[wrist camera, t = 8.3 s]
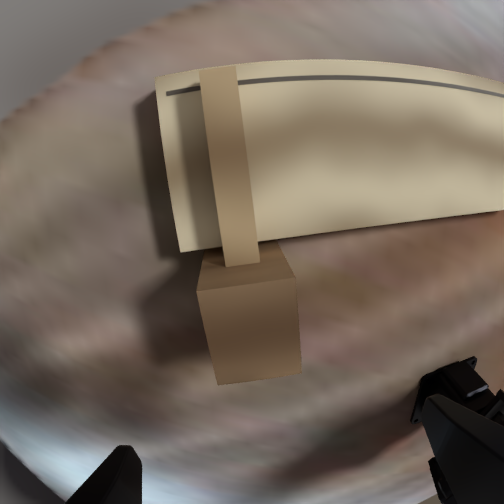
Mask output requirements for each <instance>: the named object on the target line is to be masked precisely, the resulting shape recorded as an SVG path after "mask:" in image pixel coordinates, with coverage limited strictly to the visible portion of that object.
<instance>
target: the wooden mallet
mask: <svg viewBox="0 0 504 504" xmlns="http://www.w3.org/2000/svg"><path fill="white" fill-rule="evenodd" d="M199 79H200V87H201V95H202V103H203V111H204V119H205V127H206V135H207V142H208V150H209V157H210V164H211V171H212V178H213V185H214V192H215V199H216V206H217V213H218V220H219V226H220V233H221V239H222V247H215V248H208V249H205V250H204V255H203V260H202V265H201V270H200V275H199V280H198V285H197V290H196V293H197V297H198V302H199V307H200V312H201V316H202V321H203V325H204V330H205V334H206V338H207V343H208V347H209V351H210V356H211V360H212V364H213V368H214V372H215V376H216V380H217V384H218V385H224V384H233V383H241V382H249V381H256V380H263V379H270V378H276V377H282V376H288V375H294V374H300V373H302V370H301V351H300V333H299V318H298V303H297V289H296V277H295V275H294V273H293V271H292V270H291V268H290V266H289V264H288V262H287V260H286V258H285V256H284V254H283V253H282V251H281V249H280V247H279V245H278V243H277V241H276V239H273V240H265V241H258V240H257V232H256V224H255V215H254V207H253V199H252V191H251V183H250V175H249V167H248V159H247V151H246V143H245V136H244V128H243V120H242V112H241V104H240V97H239V89H238V81H237V74H236V66H228V67H220V68H213V69H206V70H200V71H199Z"/></svg>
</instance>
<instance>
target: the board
mask: <svg viewBox="0 0 504 504" xmlns="http://www.w3.org/2000/svg"><path fill="white" fill-rule="evenodd" d="M228 66H236V74H237V81H238V89H239V97H240V104H241V112H242V120H243V128H244V136H245V143H246V151H247V159H248V167H249V175H250V183H251V191H252V199H253V207H254V215H255V224H256V232H257V240H258V241H265V240H273V239H280V238H287V237H295V236H302V235H310V234H317V233H325V232H332V231H340V230H347V229H355V228H363V227H370V226H378V225H386V224H394V223H401V222H409V221H417V220H425V219H433V218H441V217H449V216H457V215H466V214H474V213H482V212H490V211H499V210H504V83H502V82H499V81H495V80H491V79H487V78H483V77H478V76H474V75H469V74H464V73H459V72H454V71H449V70H443V69H437V68H430V67H423V66H416V65H408V64H399V63H389V62H376V61H360V60H283V61H266V62H253V63H243V64H233V65H225V66H217V67H210V68H203V69H197V70H190V71H185V72H179V73H174V74H169V75H164V76H159V77H155V87H156V96H157V105H158V113H159V122H160V129H161V137H162V144H163V152H164V158H165V165H166V172H167V178H168V185H169V191H170V197H171V203H172V209H173V215H174V220H175V226H176V231H177V237H178V242H179V247H180V252H187V251H194V250H201V249H208V248H215V247H222V239H221V233H220V226H219V220H218V213H217V206H216V199H215V192H214V185H213V178H212V171H211V164H210V157H209V150H208V142H207V135H206V127H205V119H204V111H203V103H202V95H201V87H200V79H199V71H200V70H206V69H213V68H220V67H228Z"/></svg>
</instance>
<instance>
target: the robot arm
mask: <svg viewBox="0 0 504 504" xmlns="http://www.w3.org/2000/svg"><path fill="white" fill-rule="evenodd" d="M476 362H477V358H476V357H475V356H473V357H470V358H468V359H465V360H463V361H460V362H458V363H455V364H453V365H450V366H447V367H445V368H442V369H439V370H436V371H434V372H431V373H428V374H426V375H424V376H423V377H422V379H421V383H420V387H419V391H418V395H417V399H416V402H415V406H414V409H413V413H412V416H411V420H410V421H411V423H412V424H416V423H419V422H422V423H423V426H424V428H425V431H426V434H427V436H428V439H429V442H430V444H431V447H432V450H433V453H434V455H435V457H433V458H431V459H430V460H429V461H428V463H429V466H430V471H431V474H432V477H433V481H434V484H435V487H436V490H437V494H438V497H439V500H440V502H441V503H442V504H504V391H503V390H501V389H500V390H499V391H498V392H497V393H496V394H497V395H496V396H495V395H494V394H493V393H492V392H491V391H490V390H489V389H488V387H489V386H488V384H487V383H486V382H485V381H484V380H483V379H482V378H481V377H480V376H479V375H478V373H477V372H476V371H475V370H474V369H475V366H476ZM427 378H428V379H427ZM426 379H427V380H426ZM64 504H142V463H141V460H140V458H139V457H138V455H137V453H136V452H135V450H134V449H133V447H132V446H130V445H119V446H117V447H116V448H115V449H114V450H113V452H112V453H111V454H110V455H109V456H108V457H107V458H106V459H105V460H104V461H103V463H102V464H101V465H100V466H99V467H98V468H97V469H96V470H95V471H94V472H93V473H92V474H91V476H90V477H89V478H88V479H87V480H86V481H85V482H84V483H83V484H82V485H81V486H80V487H79V488H78V490H77V491H76V492H75V493H74V494H73V495H72V496H71V497H70V498H69V499H68V500H67V501H66V502H65V503H64Z"/></svg>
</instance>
